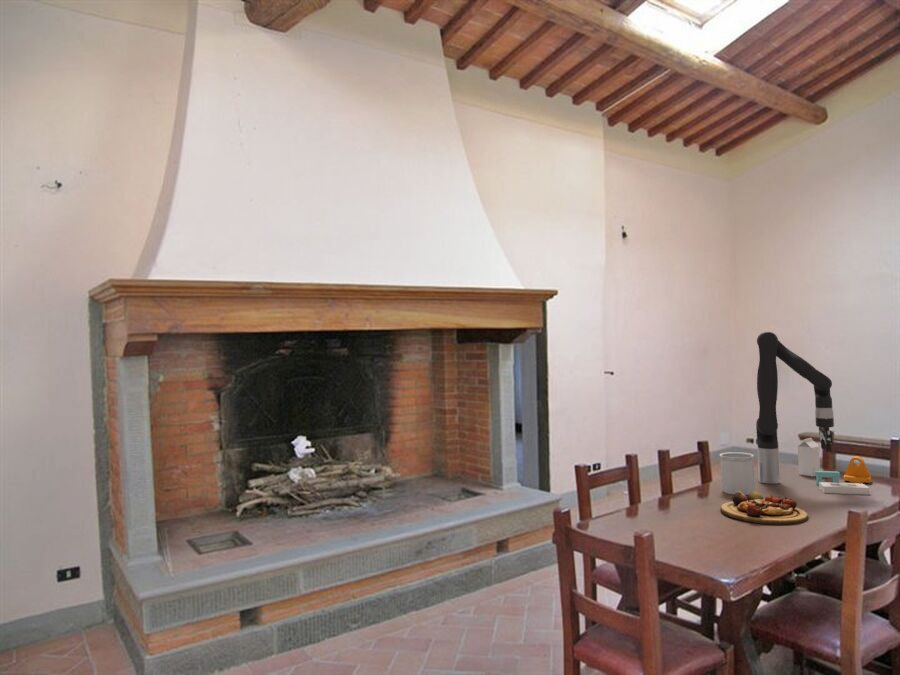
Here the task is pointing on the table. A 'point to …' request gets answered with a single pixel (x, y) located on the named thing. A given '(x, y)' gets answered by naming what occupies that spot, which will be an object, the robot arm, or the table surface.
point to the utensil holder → (737, 472)
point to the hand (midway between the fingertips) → (826, 450)
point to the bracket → (857, 472)
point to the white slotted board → (844, 488)
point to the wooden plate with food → (764, 509)
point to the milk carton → (808, 457)
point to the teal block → (827, 474)
